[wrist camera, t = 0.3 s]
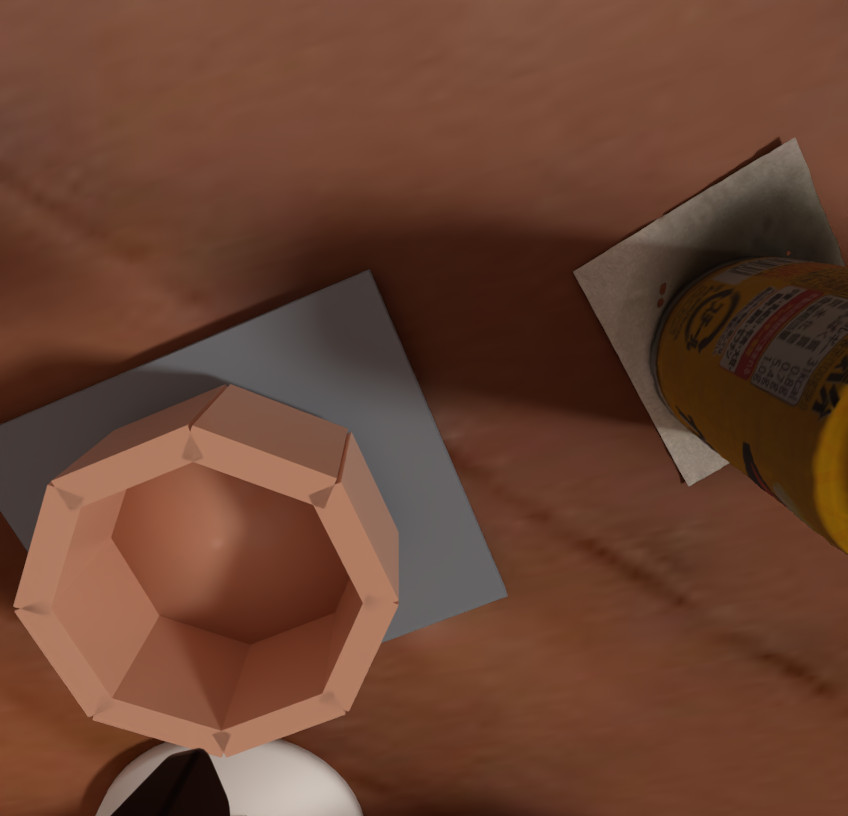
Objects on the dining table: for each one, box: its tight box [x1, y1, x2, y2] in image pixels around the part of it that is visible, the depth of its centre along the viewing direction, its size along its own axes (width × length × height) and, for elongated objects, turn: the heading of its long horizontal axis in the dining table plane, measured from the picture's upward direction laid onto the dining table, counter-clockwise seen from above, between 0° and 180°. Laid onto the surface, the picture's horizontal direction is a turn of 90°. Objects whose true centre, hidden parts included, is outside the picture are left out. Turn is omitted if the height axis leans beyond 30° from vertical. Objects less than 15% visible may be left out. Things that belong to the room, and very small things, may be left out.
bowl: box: [13, 384, 399, 758], centre depth 20 cm, size 9×9×5 cm
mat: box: [0, 269, 507, 643], centre depth 22 cm, size 12×14×1 cm
